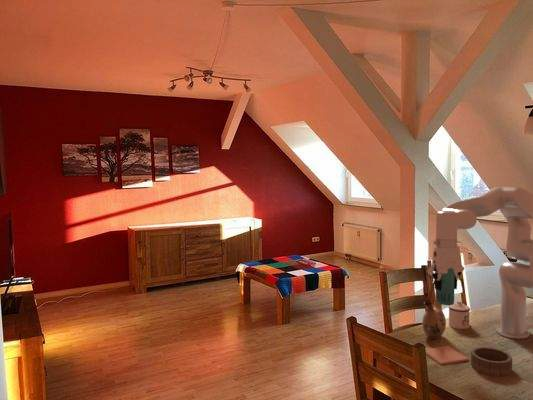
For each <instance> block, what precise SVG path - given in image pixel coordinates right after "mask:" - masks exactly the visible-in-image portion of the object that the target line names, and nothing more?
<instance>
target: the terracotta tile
mask: <svg viewBox="0 0 533 400" xmlns="http://www.w3.org/2000/svg"><path fill="white" fill-rule="evenodd" d="M425 349H426V353H427V355H426V356H427V357H429V358H430V359H432V360H434V362H436V363H438V364H439V365H440V366H441V365H442V366H443V365H448V364H455V363H462V362H468V361H469V358H468V357H467V356H465V355H464V354H462V353H460V352H458V351H457V350H455V349H454V348H452V347H451V346H450V345H446V346H440V347H439V346H438V347H431V348H425Z"/></svg>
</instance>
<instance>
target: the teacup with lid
mask: <svg viewBox="0 0 533 400" xmlns="http://www.w3.org/2000/svg"><path fill="white" fill-rule="evenodd" d="M470 312H471V308H470V307H469V306H468V305H466V304H465V303H463V302H462V301H461V300H457V301H456V302H454V304H453V305H448V325H449V326H450V327H451V328H453V329H458V330H467V329H469V328H470Z"/></svg>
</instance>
